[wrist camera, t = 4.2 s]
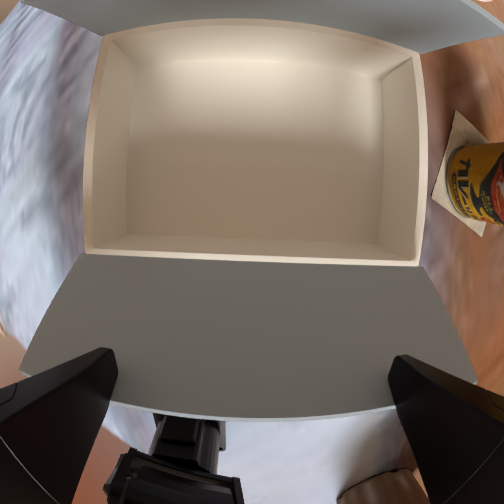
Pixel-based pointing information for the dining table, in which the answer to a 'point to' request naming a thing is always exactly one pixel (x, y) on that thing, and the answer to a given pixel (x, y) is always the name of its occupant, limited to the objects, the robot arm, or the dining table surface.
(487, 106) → the dining table surface
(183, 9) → the flap
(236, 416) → the flap
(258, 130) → the carton
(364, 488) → the plant pot
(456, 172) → the condiment
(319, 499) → the dining table surface
